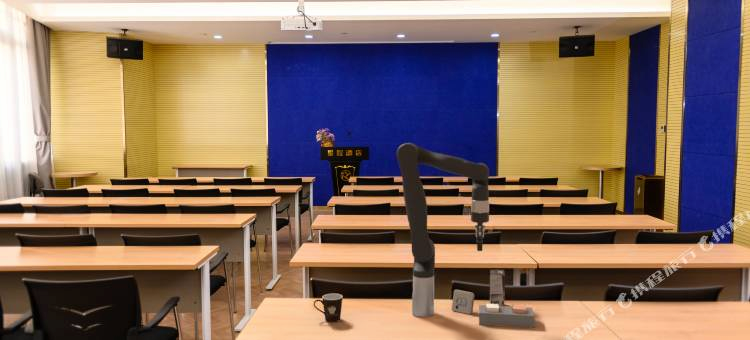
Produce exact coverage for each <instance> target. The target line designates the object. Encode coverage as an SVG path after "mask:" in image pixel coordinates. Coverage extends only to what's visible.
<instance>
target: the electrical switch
mask: <svg viewBox="0 0 750 340" xmlns="http://www.w3.org/2000/svg"><path fill="white" fill-rule="evenodd" d="M474 303H475V294H474V293H473V292H472V291H471V292H470V291H467V290H466V291H465V290H460V289H454V290H453V298H452V303H451V310H452V311H453V312H456V313H457V312H458V313H462V314H467V315H472V313H473V310H474Z"/></svg>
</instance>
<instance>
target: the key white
mask: <svg viewBox="0 0 750 340" xmlns="http://www.w3.org/2000/svg"><path fill="white" fill-rule="evenodd" d="M485 305H486V311H487V312H499V305H498V304H490V303H486V304H485Z"/></svg>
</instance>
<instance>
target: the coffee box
mask: <svg viewBox="0 0 750 340" xmlns="http://www.w3.org/2000/svg"><path fill="white" fill-rule="evenodd" d="M489 272H490V273H489V304H498V305H499V306H505V297H506V296H505V289H506V288H505V287H506V286H505V285H506V284H505V283H506V282H505V281H506V273H505V269H490V271H489Z"/></svg>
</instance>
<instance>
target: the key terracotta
mask: <svg viewBox="0 0 750 340" xmlns="http://www.w3.org/2000/svg"><path fill="white" fill-rule="evenodd" d="M512 307H513V313H524V314H526V305H520V304H512Z"/></svg>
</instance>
